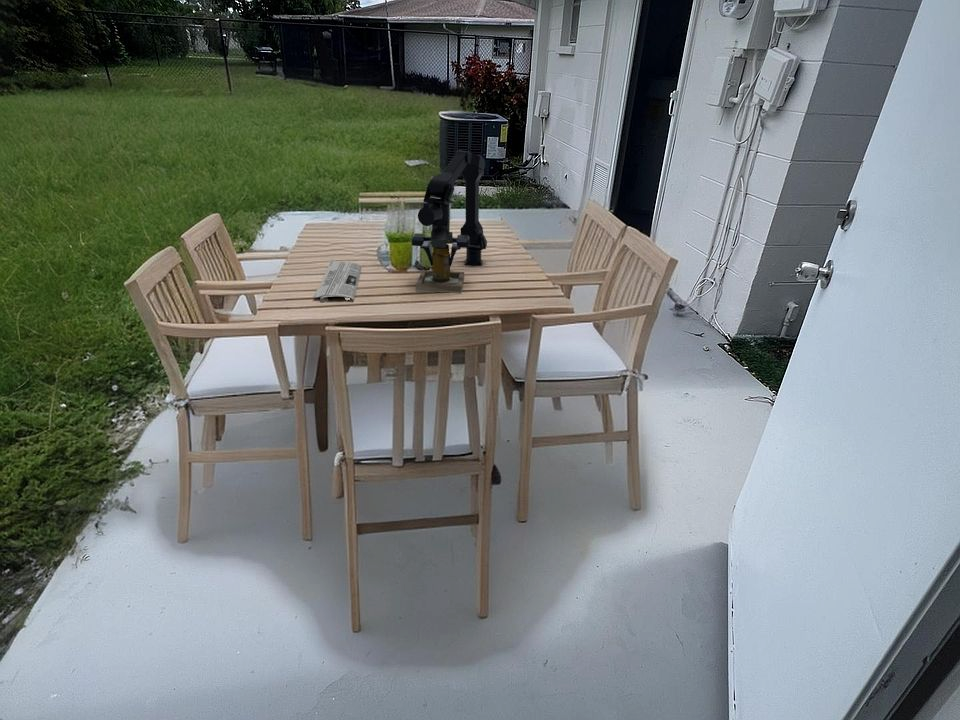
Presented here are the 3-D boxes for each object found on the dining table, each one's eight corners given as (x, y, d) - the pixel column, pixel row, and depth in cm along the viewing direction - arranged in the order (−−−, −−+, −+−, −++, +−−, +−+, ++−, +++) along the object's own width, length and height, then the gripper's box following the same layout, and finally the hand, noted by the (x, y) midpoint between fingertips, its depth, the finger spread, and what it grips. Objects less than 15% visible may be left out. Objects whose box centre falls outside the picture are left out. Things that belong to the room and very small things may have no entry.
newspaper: (353, 303, 179) (353, 292, 177) (313, 303, 177) (312, 293, 176) (361, 268, 210) (361, 259, 208) (327, 268, 208) (326, 259, 207)
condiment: (446, 274, 198) (446, 241, 193) (457, 282, 192) (457, 247, 186) (427, 277, 195) (426, 243, 190) (437, 285, 189) (437, 250, 183)
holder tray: (421, 277, 201) (421, 270, 200) (464, 278, 201) (464, 271, 200) (416, 291, 188) (416, 284, 187) (461, 293, 188) (461, 286, 186)
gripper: (408, 224, 177) (410, 272, 184) (468, 226, 177) (467, 274, 184) (413, 216, 187) (414, 261, 194) (469, 218, 187) (469, 263, 194)
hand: (441, 265), depth 191 cm, fingers closed on condiment, 6 cm apart
